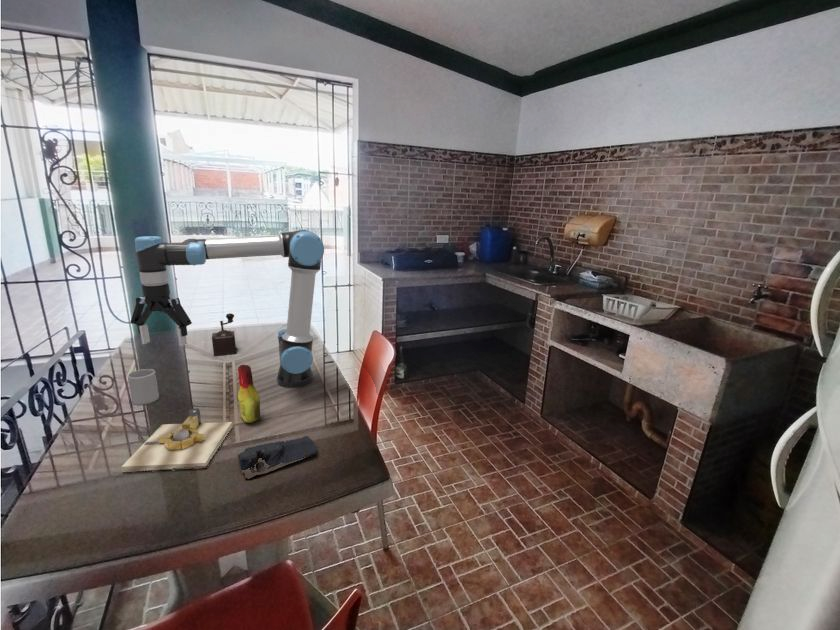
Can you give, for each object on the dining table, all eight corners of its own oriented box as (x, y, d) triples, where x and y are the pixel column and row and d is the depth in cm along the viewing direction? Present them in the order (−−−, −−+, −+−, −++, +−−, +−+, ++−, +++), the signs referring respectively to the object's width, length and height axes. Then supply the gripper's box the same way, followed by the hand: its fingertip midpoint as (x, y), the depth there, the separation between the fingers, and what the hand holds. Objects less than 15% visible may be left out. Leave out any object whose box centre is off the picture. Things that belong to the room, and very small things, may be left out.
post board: (232, 427, 132) (231, 413, 131) (206, 468, 111) (204, 453, 110) (163, 429, 129) (160, 416, 128) (122, 472, 108) (119, 457, 107)
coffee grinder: (238, 353, 197) (234, 319, 192) (213, 356, 192) (209, 321, 187) (237, 344, 210) (234, 312, 206) (214, 346, 206) (210, 313, 201)
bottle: (237, 412, 141) (232, 361, 136) (256, 408, 145) (251, 358, 139) (243, 428, 132) (238, 373, 126) (263, 422, 135) (259, 369, 130)
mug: (154, 403, 146) (150, 376, 143) (128, 406, 143) (123, 378, 141) (165, 389, 157) (161, 364, 154) (141, 391, 155) (136, 366, 152)
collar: (217, 420, 131) (215, 407, 130) (197, 448, 116) (195, 433, 115) (178, 422, 130) (176, 408, 128) (152, 450, 115) (150, 435, 113)
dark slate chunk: (321, 462, 116) (321, 448, 115) (241, 484, 106) (239, 469, 105) (309, 436, 129) (309, 423, 128) (237, 453, 119) (235, 439, 118)
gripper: (198, 283, 132) (205, 342, 138) (128, 280, 134) (139, 338, 140) (183, 287, 125) (191, 349, 131) (110, 284, 127) (122, 345, 132)
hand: (164, 344), depth 135 cm, fingers open, 13 cm apart
